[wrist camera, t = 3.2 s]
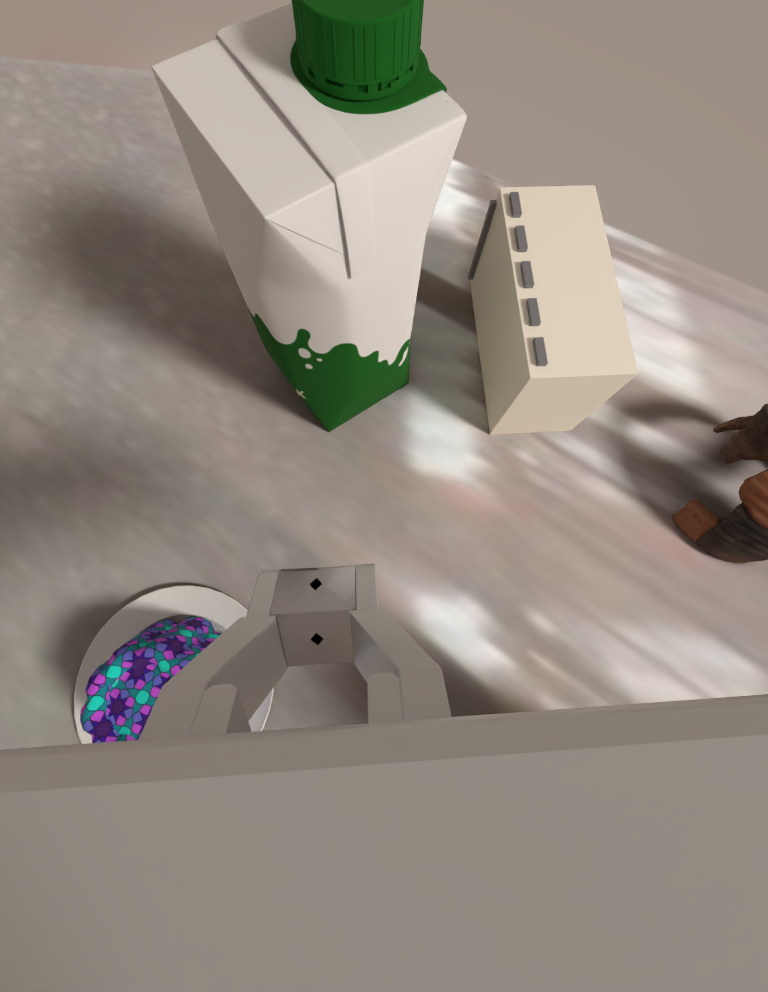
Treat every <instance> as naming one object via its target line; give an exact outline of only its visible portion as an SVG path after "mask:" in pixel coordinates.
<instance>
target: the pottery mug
mask: <svg viewBox="0 0 768 992" xmlns="http://www.w3.org/2000/svg"><path fill="white" fill-rule="evenodd" d="M728 430H739V431H737V432H736V433H735V434H734V435H733V436H732V437H731V439H730V441H729V442H728V443H727V444H726V445H724V446H723V447H722V449H721V455H722V460H723V461H724V463H726V464H729V463H733V462H736V461H738V460H740V459H744V460H764V461H767V462H768V404H765V405H764V406H763V407H762V409H761V410H760V411H759V412H757V413H756V414H755V415H754V416H748V417H738V418H735V419H733V420H730V421H727V422H725V423H723V424H721V425H719V426H717V427H716V428H714V429H713V431H714V432H716V433H719V432H723V431H728ZM739 495H740V499H741V501H742V503H741V504H739V505H738V506H737V507H736V508H735V509H734V510H733V511H732V512H731V513H730V514H729V515H728V516H727V517H725V518H723V519H719V518H718V517H717V516H715V515H713V514H712V513H711V512H710V511H709V510H708V509H707V508H706V507H705V506H704V505H703V504H702V503H701V502H700V501H699V500H691V501H690V502H688V503H687V504H686V505H685V506H684V508H682V509H681V510H679V511H678V512H677V513H676V514H674V515H673V519H674V521H675V522H676V523H677V525H678V526H679V527H680V528H681V529H682V530H683V532H684V533H685V534H686V535H688V536H689V537H690V538H691V539H692V540H693V541H695V542H696V543H697V544H698V545H699V546H700V547H702V548H703V549H705V550H706V551H707V552H708V553H709V554H712V555H714V556H716V557H718V558H719V559H721V560H724V561H727V562H732V563H746V562H752V561H763V560H767V559H768V469H767V470H765V471H763V472H761V473H759V474H757V475H755V476H752V477H750V478H747V479H746V480H745V481H744V483H743V484H742V485H741V487H740V489H739Z"/></svg>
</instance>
